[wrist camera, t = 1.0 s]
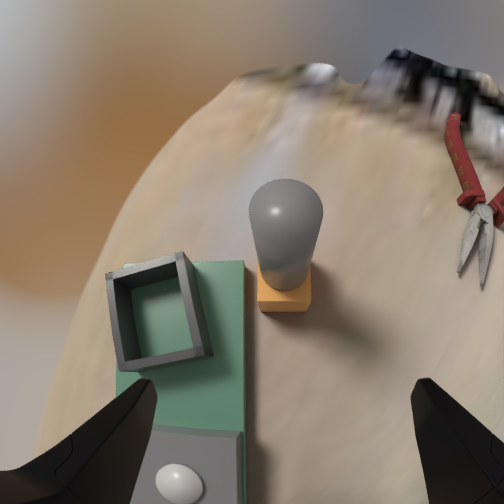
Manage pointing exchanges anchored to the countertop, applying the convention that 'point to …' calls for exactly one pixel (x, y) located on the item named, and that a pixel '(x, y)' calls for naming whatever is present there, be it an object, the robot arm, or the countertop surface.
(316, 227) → the plug
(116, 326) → the frame
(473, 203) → the pliers
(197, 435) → the grey button box
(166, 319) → the board
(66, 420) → the countertop surface
